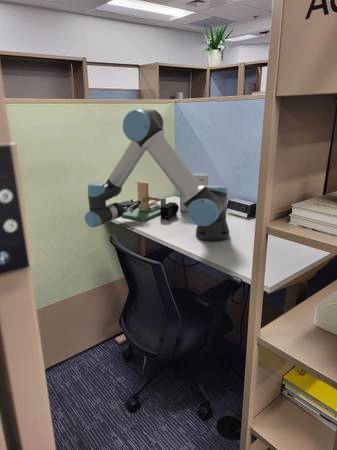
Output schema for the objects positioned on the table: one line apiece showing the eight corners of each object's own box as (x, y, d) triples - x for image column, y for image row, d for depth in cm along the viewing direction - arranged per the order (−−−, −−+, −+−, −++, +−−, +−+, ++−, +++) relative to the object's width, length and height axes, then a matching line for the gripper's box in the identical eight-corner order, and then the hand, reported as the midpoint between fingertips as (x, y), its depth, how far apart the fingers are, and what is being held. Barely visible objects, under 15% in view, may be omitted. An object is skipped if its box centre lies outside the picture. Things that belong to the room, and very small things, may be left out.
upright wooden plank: (147, 212, 187) (146, 182, 181) (138, 210, 190) (137, 181, 185) (162, 205, 198) (162, 177, 193) (154, 204, 202) (153, 176, 196)
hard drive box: (207, 208, 199) (208, 173, 192) (207, 212, 191) (208, 176, 185) (180, 207, 200) (180, 173, 193) (179, 211, 193) (179, 176, 186)
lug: (162, 207, 195) (162, 199, 194) (148, 205, 200) (148, 196, 199) (165, 206, 198) (165, 197, 196) (151, 203, 203) (151, 195, 201)
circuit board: (144, 221, 178) (144, 218, 177) (120, 216, 186) (120, 213, 186) (171, 209, 197) (171, 206, 197) (148, 205, 206) (148, 202, 205)
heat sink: (151, 212, 188) (150, 206, 187) (139, 209, 192) (139, 204, 191) (159, 208, 194) (159, 203, 193) (147, 206, 198) (147, 201, 197)
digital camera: (169, 221, 178) (169, 208, 176) (160, 219, 180) (160, 206, 178) (178, 215, 187) (178, 203, 184) (169, 214, 189) (169, 201, 187)
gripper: (103, 217, 172) (132, 205, 191) (123, 221, 166) (152, 208, 184) (101, 202, 170) (132, 192, 188) (122, 206, 163) (151, 195, 182)
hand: (141, 200), depth 186 cm, fingers closed
